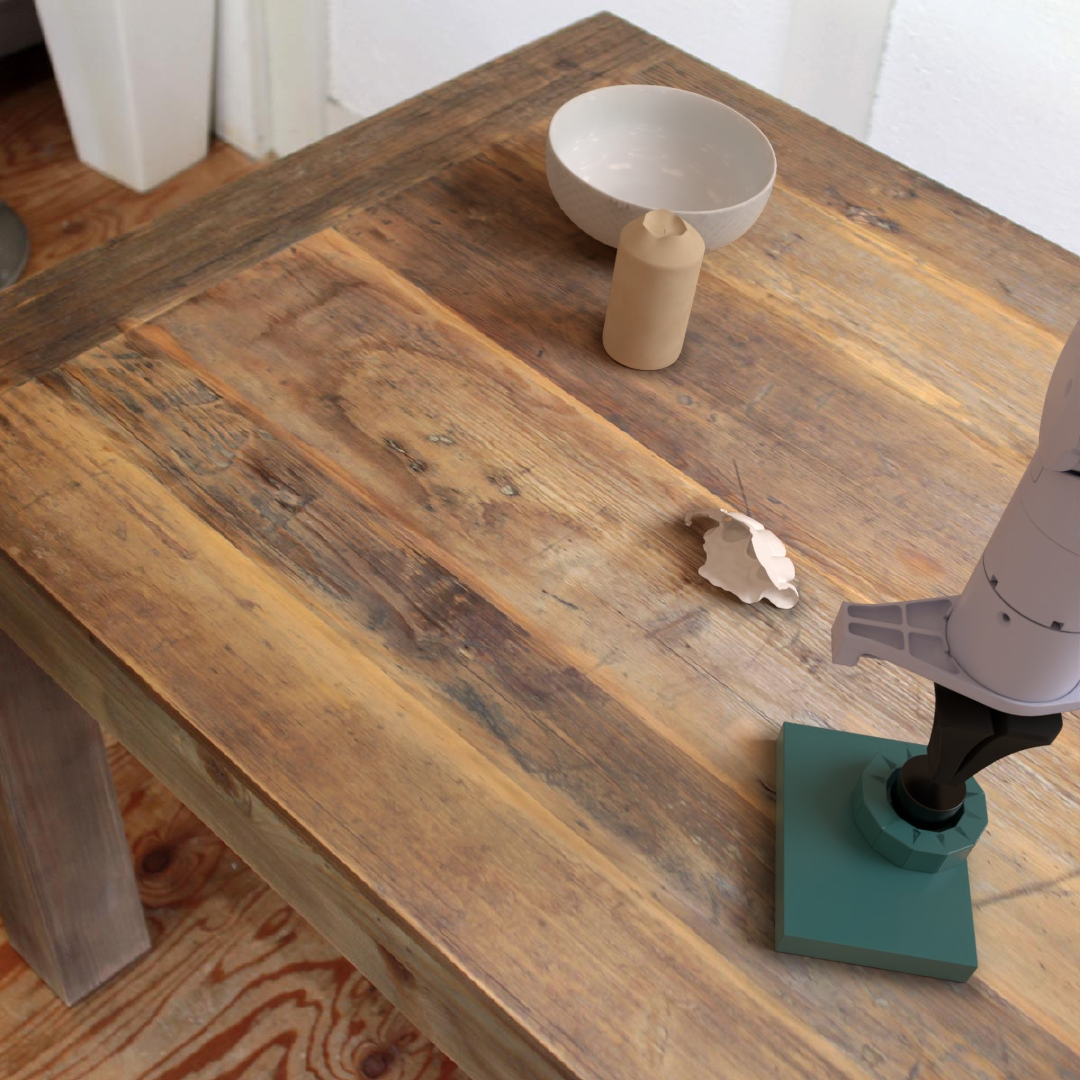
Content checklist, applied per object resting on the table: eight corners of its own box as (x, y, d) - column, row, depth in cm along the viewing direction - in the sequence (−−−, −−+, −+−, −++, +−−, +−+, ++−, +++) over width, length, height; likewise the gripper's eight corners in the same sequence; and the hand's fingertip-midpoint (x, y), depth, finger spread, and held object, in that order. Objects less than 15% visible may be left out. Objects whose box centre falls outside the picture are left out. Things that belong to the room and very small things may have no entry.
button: (958, 835, 64) (970, 816, 63) (891, 824, 64) (902, 805, 63) (952, 779, 66) (964, 759, 65) (888, 768, 66) (898, 748, 65)
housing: (977, 985, 62) (1005, 951, 59) (774, 951, 62) (793, 915, 60) (955, 769, 70) (978, 731, 68) (776, 739, 70) (792, 700, 68)
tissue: (753, 510, 82) (767, 465, 79) (804, 609, 77) (821, 565, 74) (668, 522, 80) (680, 476, 78) (715, 623, 75) (729, 579, 72)
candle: (694, 364, 91) (724, 240, 83) (621, 377, 89) (645, 253, 82) (660, 314, 94) (686, 192, 87) (589, 327, 92) (609, 202, 85)
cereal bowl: (491, 214, 100) (499, 129, 95) (630, 141, 110) (644, 60, 104) (666, 323, 94) (685, 238, 88) (798, 235, 103) (822, 154, 98)
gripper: (1214, 535, 55) (1082, 723, 65) (868, 478, 56) (790, 674, 66) (1255, 668, 51) (1106, 849, 61) (876, 605, 51) (790, 796, 61)
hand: (942, 767), depth 63 cm, fingers closed
